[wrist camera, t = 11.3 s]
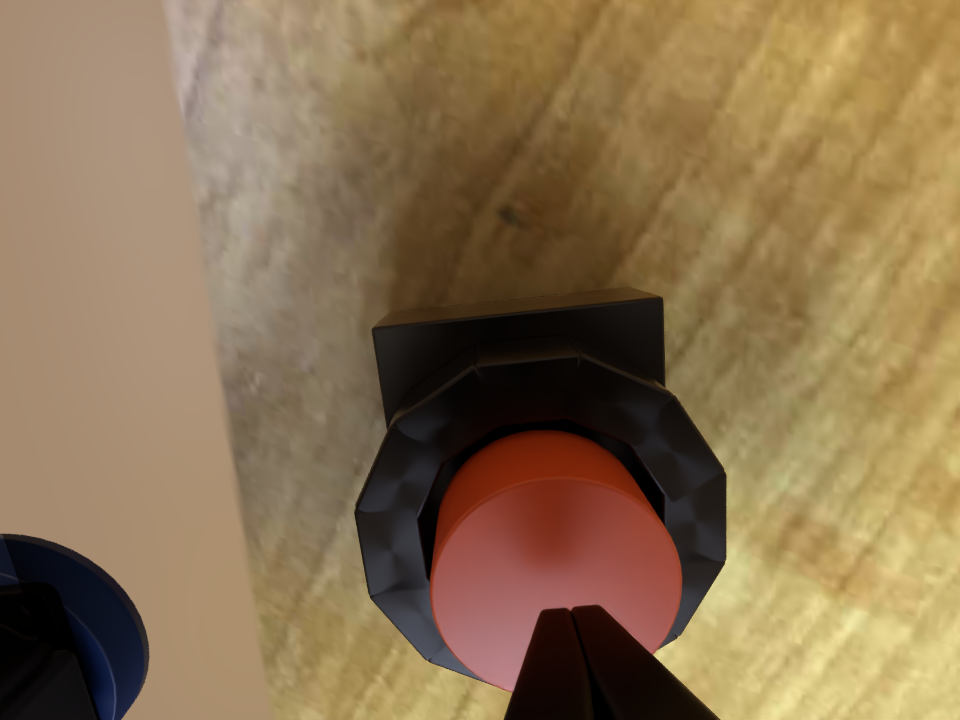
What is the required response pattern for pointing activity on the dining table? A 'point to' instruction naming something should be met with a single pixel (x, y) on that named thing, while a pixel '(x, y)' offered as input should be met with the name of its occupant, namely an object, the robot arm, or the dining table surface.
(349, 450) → the dining table surface
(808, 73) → the dining table surface
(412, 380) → the button block
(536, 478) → the button
